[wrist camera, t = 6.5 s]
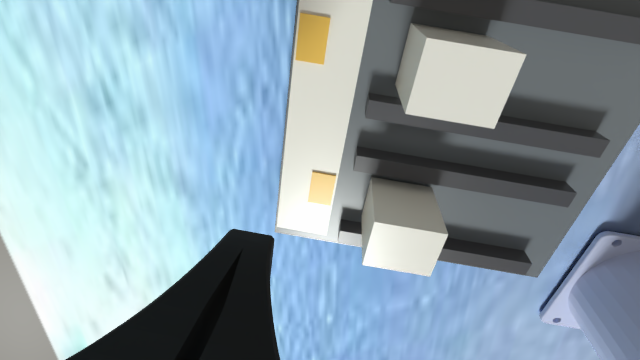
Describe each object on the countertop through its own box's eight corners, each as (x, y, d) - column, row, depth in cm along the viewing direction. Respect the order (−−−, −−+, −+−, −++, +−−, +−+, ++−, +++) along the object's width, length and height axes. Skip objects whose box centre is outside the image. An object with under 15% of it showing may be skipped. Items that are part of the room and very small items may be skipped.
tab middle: (488, 35, 13) (526, 54, 10) (465, 96, 15) (494, 128, 12) (410, 22, 13) (426, 37, 10) (395, 84, 15) (405, 113, 12)
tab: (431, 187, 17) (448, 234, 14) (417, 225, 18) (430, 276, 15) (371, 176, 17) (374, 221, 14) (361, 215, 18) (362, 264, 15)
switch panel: (818, -256, 11) (989, -341, 8) (520, 248, 22) (545, 291, 19) (340, -333, 11) (333, -444, 8) (282, 207, 22) (270, 243, 19)
